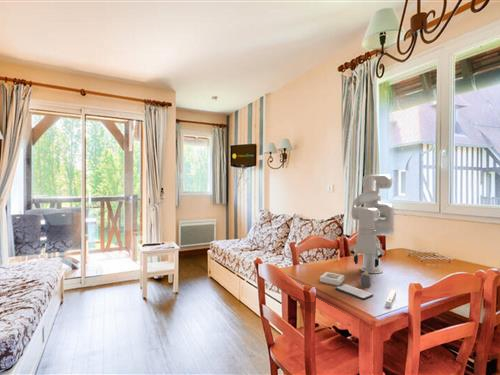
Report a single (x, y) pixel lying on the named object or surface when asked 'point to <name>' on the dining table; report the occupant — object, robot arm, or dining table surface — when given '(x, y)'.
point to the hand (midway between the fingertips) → (366, 265)
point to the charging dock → (391, 298)
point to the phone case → (354, 292)
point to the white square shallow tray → (332, 278)
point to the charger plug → (366, 280)
